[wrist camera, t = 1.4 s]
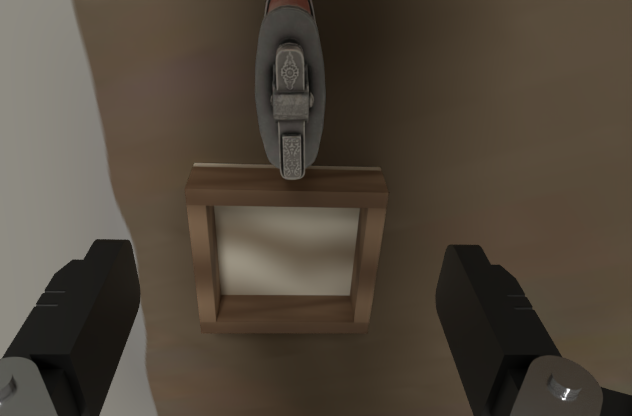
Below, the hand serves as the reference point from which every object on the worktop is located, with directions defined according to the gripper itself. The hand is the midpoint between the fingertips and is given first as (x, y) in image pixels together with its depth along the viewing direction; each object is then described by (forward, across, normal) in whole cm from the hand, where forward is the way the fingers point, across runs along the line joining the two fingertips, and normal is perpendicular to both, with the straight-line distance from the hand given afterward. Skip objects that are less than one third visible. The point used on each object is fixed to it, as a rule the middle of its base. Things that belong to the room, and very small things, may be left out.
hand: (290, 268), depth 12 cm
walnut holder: (+20, 0, +14) cm, 24 cm away
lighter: (+20, 0, 0) cm, 20 cm away
